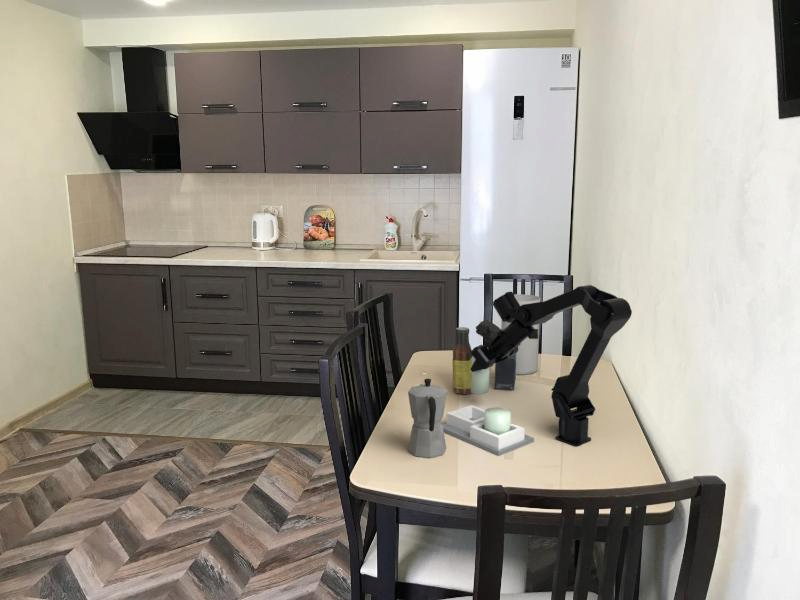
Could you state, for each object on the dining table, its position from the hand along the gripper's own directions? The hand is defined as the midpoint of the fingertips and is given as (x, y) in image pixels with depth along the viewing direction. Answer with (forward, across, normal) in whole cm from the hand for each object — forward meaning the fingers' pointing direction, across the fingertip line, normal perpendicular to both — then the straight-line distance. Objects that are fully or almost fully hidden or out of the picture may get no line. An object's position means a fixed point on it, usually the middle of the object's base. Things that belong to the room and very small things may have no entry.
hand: (476, 368), depth 184 cm
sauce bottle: (+15, -9, +1) cm, 18 cm away
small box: (+10, -23, +7) cm, 25 cm away
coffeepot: (+4, +34, +12) cm, 37 cm away
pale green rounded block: (+4, 0, +6) cm, 7 cm away
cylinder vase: (+12, -40, +4) cm, 42 cm away
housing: (-1, +17, +17) cm, 24 cm away
